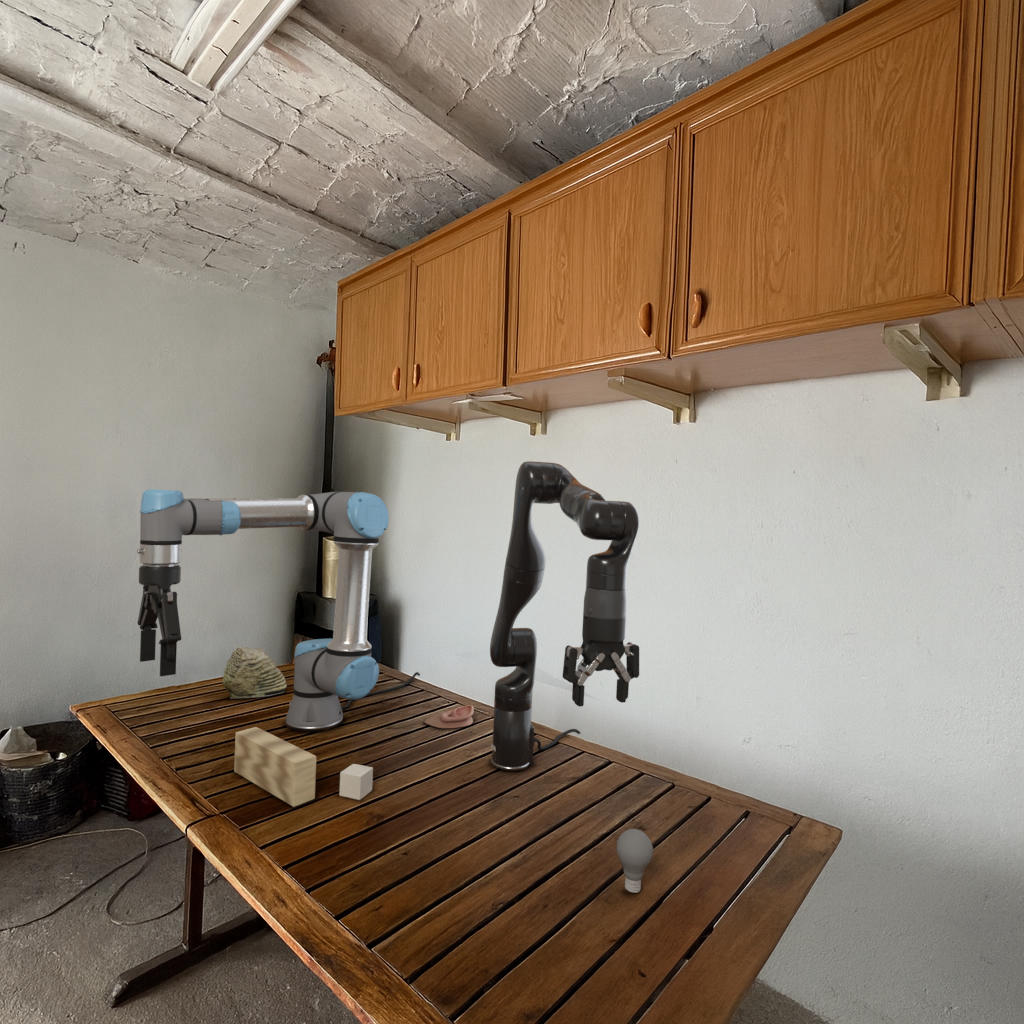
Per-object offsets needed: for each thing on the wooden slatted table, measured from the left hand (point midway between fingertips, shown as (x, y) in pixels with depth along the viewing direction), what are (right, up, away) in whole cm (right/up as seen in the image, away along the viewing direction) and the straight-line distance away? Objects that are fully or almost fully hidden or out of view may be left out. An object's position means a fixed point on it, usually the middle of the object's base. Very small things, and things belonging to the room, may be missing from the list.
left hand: (157, 667), depth 130 cm
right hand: (+89, -2, -17) cm, 90 cm away
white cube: (+39, -28, +6) cm, 49 cm away
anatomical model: (+55, -28, +51) cm, 80 cm away
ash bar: (+21, -28, +8) cm, 35 cm away
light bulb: (+93, -31, -25) cm, 101 cm away
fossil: (-8, -25, +68) cm, 73 cm away
